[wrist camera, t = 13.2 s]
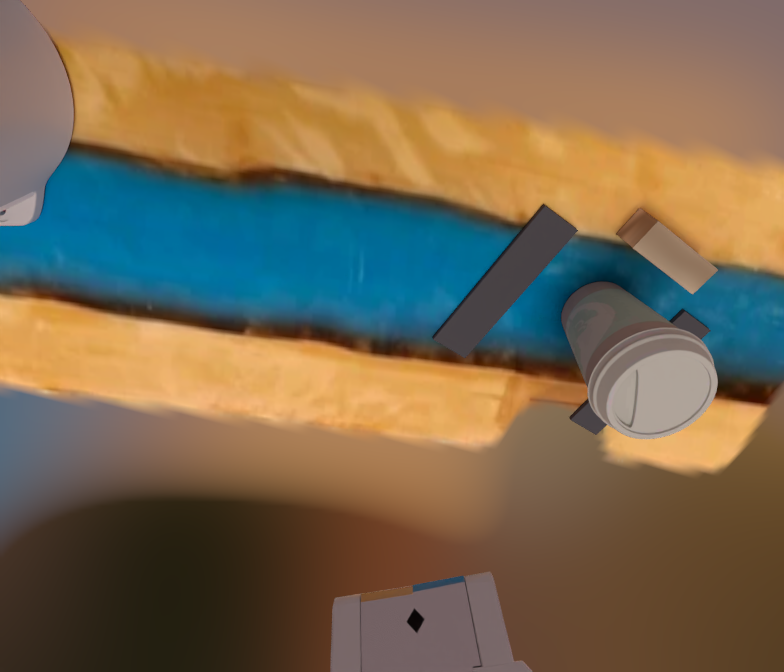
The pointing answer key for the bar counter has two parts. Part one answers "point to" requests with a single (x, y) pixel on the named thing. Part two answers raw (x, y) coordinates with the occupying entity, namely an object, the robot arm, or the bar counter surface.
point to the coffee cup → (637, 363)
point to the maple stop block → (666, 251)
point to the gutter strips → (511, 281)
